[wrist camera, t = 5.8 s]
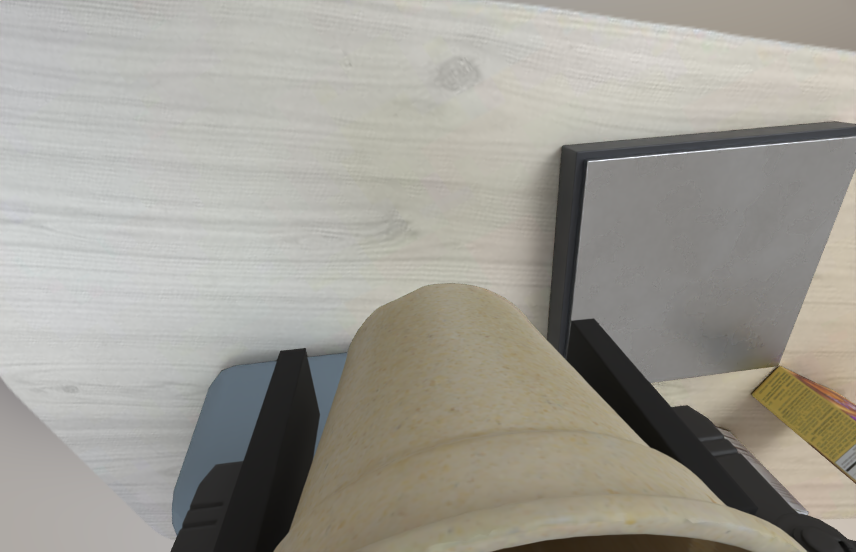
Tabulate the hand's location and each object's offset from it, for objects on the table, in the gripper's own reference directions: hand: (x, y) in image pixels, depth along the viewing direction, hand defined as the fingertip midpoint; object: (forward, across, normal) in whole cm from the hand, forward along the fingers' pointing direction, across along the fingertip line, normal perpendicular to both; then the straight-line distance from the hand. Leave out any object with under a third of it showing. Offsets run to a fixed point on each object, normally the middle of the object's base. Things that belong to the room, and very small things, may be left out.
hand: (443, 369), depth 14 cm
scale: (+18, +21, -6) cm, 28 cm away
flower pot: (0, 0, 0) cm, 0 cm away
